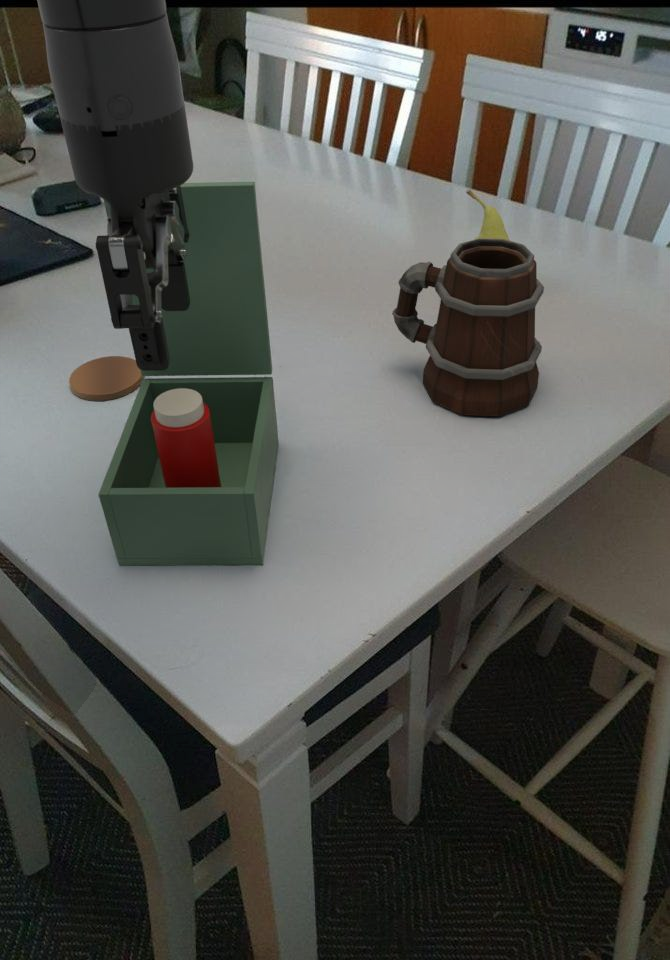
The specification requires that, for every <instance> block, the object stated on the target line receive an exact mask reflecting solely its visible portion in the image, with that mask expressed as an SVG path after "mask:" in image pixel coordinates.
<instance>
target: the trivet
mask: <svg viewBox="0 0 670 960" xmlns="http://www.w3.org/2000/svg"><path fill="white" fill-rule="evenodd" d="M143 379H145V376H141V371H140V369H139V368H138V367H137V364H136V359H135V358H134V359H133V358H132V357H128V356H122V355H110V356H103V357H97V358H95V359H92V360H91V359H90V360H89V361H86V362H84V363H82V364H81V365H79V366H78V367H77V368H75V369H74V370H73V371H72V372H71V374H70V376H69V381H68V382H69V386H70V390H71V392H72V393H73V394H74V395H75V396H77V398H80V399H83V400H86V401H92V402H93V401H94V402H100V401H101V402H102V401H104V402H105V401H111V400H115V399H120V398H122V397H125V396H128V395H129V394H131V393H132V392H135V390H137V389H138V388H140V386H141V383H142V381H143Z"/></svg>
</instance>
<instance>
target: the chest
mask: <svg viewBox="0 0 670 960" xmlns="http://www.w3.org/2000/svg"><path fill="white" fill-rule="evenodd" d="M138 388H139V389H138V391H137V394H136V395H135V396H136V397H135V399H134V402H133V403H132V407H131V409H130V411H129V414H128V417H127V419H126V422H125V425H124V428H123V429H122V432H121V435H120V437H119V440H118V443H117V446H116V448H115V450H114V453H113V456H112V458H111V461H110V463H109V466H108V468H107V471H106V475H105V476H104V478H103V481H102V484H101V487H100V490H99V492H98V494H97V495H98V498H99V501H100V505H101V508H102V509H101V510H102V512H103V515H104V519H105V523H106V525H107V528H108V533H109V536H110V541H111V542H112V547H113V550H114V554H115V557H116V560H117V564H118V566H259V565H260V566H262V565H264V560H265V559H264V557H265V550H266V542H267V535H268V529H269V522H270V521H269V520H270V513H271V505H272V497H273V491H274V485H275V483H274V482H275V477H276V468H277V461H278V453H279V447H280V446H279V445H280V442H279V431H278V421H277V420H278V419H277V410H276V409H277V408H276V401H275V399H276V398H275V392H274V391H275V390H274V389H275V388H274V378H273V376H245V377H244V376H243V377H242V376H238V377H237V376H235V377H232V376H231V377H175V378H174V377H170V378H169V377H165V378H164V377H162V378H161V377H158V378H157V377H155V378H149V377H148V378H144V379H143V381H142V383H141V385H140V386H139V387H138ZM179 388H186V389H192V390H195V391H197V392H198V393H199V394H200V395H201V396H202V400H203V402H204V403H205V404H206V405H207V406H208V408H209V411H210V418H211V424H212V430H213V437H214V443H215V449H216V456H217V462H218V468H219V475H220V481H221V487H195V488H166V487H165V482H164V477H163V473H162V468H161V463H160V459H159V454H158V450H157V445H156V440H155V436H154V431H153V426H152V422H151V415H152V413H153V411H154V406H153V405H154V401H155V399H156V398H157V397H158V396H159V395H161V394H162V393H164V392H166V391H169V390H172V389H179Z"/></svg>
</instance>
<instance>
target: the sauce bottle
mask: <svg viewBox="0 0 670 960" xmlns="http://www.w3.org/2000/svg"><path fill="white" fill-rule="evenodd" d="M153 406H154V411H153V413H152V415H151V422H152V426H153V431H154V436H155V440H156V445H157V450H158V454H159V459H160V463H161V468H162V473H163V477H164V482H165V487H166V488H195V487H221V481H220V475H219V468H218V462H217V456H216V449H215V443H214V437H213V430H212V424H211V418H210V411H209V408H208V406H207V405H206V404H205V403H204V402H203V400H202V396H201V395H200V394H199V393H198V392H197V391H195V390H192V389H186V388H179V389H172V390H169V391H166V392H164V393H162V394H161V395H159V396H158V397H157V398H156V399H155V401H154V405H153Z"/></svg>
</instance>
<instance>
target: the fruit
mask: <svg viewBox="0 0 670 960" xmlns="http://www.w3.org/2000/svg"><path fill="white" fill-rule="evenodd" d="M465 194H467V195H468V196H470V197H471V198H472V199H473V200H475V201H477V203H479V204H480V205H481V206H482V208H483V210H484V212H483V220H482V225H481V228H480V232H479V234H478V236H477V237H476V238H474V239H473V240H475V239H479V238H490V239H506V240H509V241H511V240H510V237H509V234H508V232H507V230H506V227H505V224H504V220H503V218H502V216H501V215H500V213H499V212H498V211H497V209H496V208H494V207H493V206H491V205H488V204H486V203H485V202H484V201H483V200H482V199H481V197H479V196H478V195H476V194H475V192H473V190H471V189H470V188H467V189H466V191H465Z"/></svg>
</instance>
